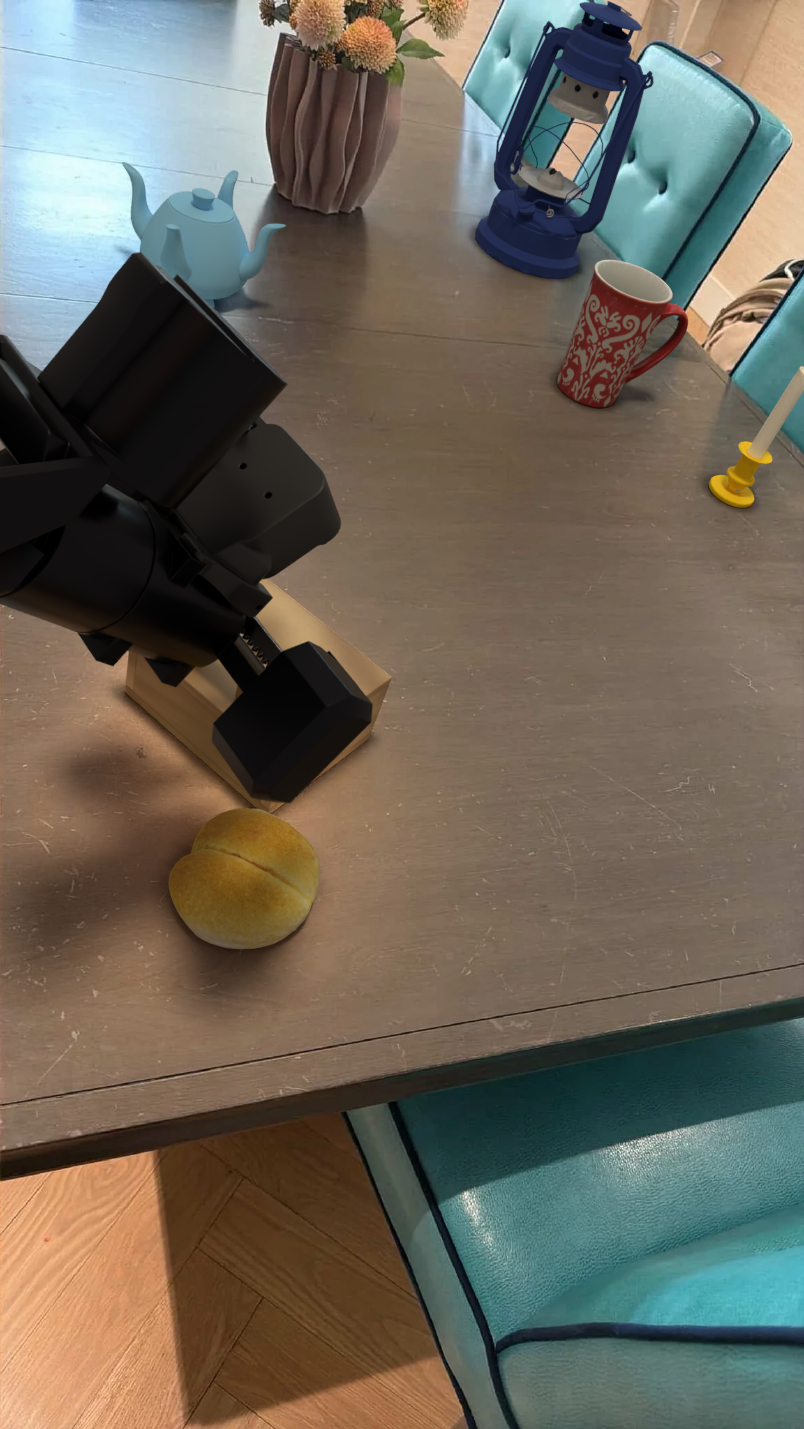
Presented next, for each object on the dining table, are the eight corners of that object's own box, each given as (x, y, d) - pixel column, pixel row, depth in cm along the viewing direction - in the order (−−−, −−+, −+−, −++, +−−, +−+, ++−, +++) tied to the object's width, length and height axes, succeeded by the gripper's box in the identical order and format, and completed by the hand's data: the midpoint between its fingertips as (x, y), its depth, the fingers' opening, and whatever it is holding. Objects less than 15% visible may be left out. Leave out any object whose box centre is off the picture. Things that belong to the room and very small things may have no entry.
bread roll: (144, 916, 57) (149, 879, 55) (221, 810, 64) (229, 772, 61) (270, 983, 57) (282, 949, 54) (335, 869, 63) (349, 834, 60)
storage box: (266, 817, 64) (282, 762, 60) (124, 692, 68) (130, 631, 64) (369, 739, 71) (389, 684, 67) (234, 628, 75) (246, 570, 71)
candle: (760, 502, 110) (842, 376, 99) (735, 512, 107) (817, 384, 96) (725, 474, 112) (801, 348, 101) (699, 484, 109) (775, 355, 98)
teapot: (225, 260, 114) (238, 168, 107) (273, 321, 107) (290, 227, 100) (114, 257, 107) (120, 158, 100) (158, 322, 101) (168, 221, 94)
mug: (554, 403, 112) (603, 289, 103) (543, 362, 118) (588, 250, 109) (655, 427, 115) (712, 318, 105) (639, 385, 121) (692, 279, 111)
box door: (276, 766, 60) (291, 710, 56) (122, 635, 63) (128, 574, 60) (390, 684, 67) (410, 630, 63) (246, 570, 71) (258, 513, 67)
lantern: (599, 268, 143) (699, 30, 122) (553, 292, 133) (653, 37, 112) (500, 213, 147) (581, -27, 125) (448, 233, 136) (526, -25, 115)
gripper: (375, 565, 34) (520, 669, 47) (120, 280, 41) (308, 441, 55) (159, 789, 36) (359, 826, 49) (-45, 477, 43) (177, 584, 57)
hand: (300, 656), depth 53 cm, fingers open, 9 cm apart
